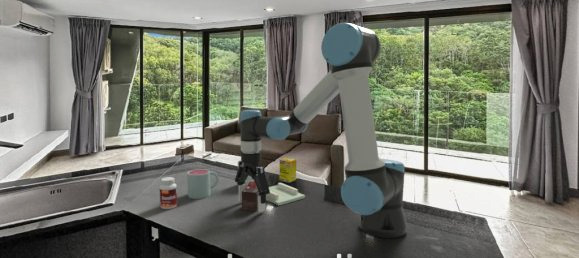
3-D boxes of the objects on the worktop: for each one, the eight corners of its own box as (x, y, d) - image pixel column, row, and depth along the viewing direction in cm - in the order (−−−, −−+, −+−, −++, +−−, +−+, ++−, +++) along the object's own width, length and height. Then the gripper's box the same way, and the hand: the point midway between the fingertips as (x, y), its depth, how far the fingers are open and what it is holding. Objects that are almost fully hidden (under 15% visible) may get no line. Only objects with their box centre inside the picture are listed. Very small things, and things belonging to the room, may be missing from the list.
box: (256, 211, 122) (256, 192, 121) (241, 210, 123) (241, 191, 122) (261, 205, 128) (261, 187, 127) (246, 204, 129) (246, 186, 128)
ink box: (258, 184, 154) (258, 159, 153) (255, 187, 150) (255, 162, 148) (241, 183, 156) (240, 158, 154) (237, 186, 151) (237, 161, 149)
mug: (194, 200, 133) (193, 176, 132) (184, 194, 140) (183, 171, 138) (224, 193, 142) (223, 170, 141) (213, 187, 149) (212, 166, 147)
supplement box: (279, 181, 158) (279, 159, 157) (286, 178, 163) (286, 157, 161) (289, 184, 155) (289, 161, 153) (296, 181, 160) (296, 159, 158)
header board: (304, 198, 136) (304, 190, 136) (278, 205, 128) (278, 198, 127) (278, 187, 150) (278, 180, 150) (252, 193, 141) (252, 186, 141)
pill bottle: (160, 210, 122) (159, 182, 121) (159, 205, 128) (158, 177, 126) (178, 208, 125) (177, 180, 123) (176, 202, 130) (175, 175, 129)
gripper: (279, 155, 115) (279, 213, 118) (241, 145, 134) (242, 194, 137) (262, 159, 111) (262, 218, 114) (225, 147, 130) (226, 198, 133)
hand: (251, 205), depth 126 cm, fingers open, 13 cm apart
